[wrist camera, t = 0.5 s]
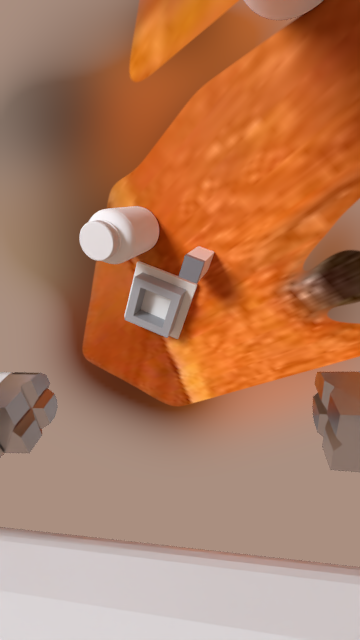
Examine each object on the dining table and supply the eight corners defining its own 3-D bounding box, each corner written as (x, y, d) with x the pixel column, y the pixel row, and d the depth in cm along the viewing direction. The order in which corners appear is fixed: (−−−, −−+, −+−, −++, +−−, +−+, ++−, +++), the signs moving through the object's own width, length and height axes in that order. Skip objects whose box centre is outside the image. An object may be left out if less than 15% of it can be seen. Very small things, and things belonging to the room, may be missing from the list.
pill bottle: (133, 259, 54) (89, 278, 41) (112, 218, 53) (59, 225, 39) (168, 241, 51) (132, 256, 38) (147, 197, 49) (103, 197, 36)
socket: (139, 260, 54) (129, 265, 50) (197, 284, 53) (192, 290, 49) (126, 314, 60) (116, 323, 56) (179, 337, 58) (172, 347, 54)
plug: (198, 245, 50) (185, 255, 42) (214, 252, 50) (204, 262, 42) (192, 264, 52) (178, 276, 44) (207, 270, 51) (196, 283, 43)
